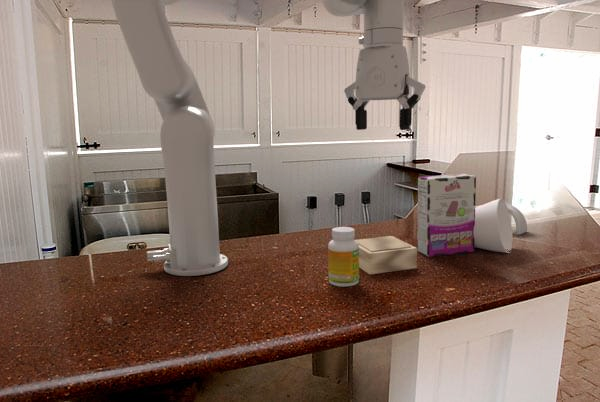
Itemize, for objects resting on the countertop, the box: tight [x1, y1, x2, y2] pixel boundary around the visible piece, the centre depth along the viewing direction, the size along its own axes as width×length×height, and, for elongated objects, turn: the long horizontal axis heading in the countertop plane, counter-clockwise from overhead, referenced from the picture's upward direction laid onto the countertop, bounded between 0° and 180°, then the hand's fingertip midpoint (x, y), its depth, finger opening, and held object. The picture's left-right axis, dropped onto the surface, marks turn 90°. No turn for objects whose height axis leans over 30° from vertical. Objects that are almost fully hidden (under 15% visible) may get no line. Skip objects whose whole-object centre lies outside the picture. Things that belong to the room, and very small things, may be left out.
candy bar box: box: [417, 173, 477, 258], centre depth 102 cm, size 11×5×16 cm, turn 105°
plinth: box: [355, 235, 418, 275], centre depth 96 cm, size 10×10×4 cm
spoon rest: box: [475, 202, 528, 236], centre depth 124 cm, size 24×12×7 cm, turn 46°
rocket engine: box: [473, 197, 513, 254], centre depth 107 cm, size 12×12×18 cm
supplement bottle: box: [327, 226, 360, 288], centre depth 85 cm, size 5×5×10 cm
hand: (382, 129), depth 97 cm, fingers open, 9 cm apart
